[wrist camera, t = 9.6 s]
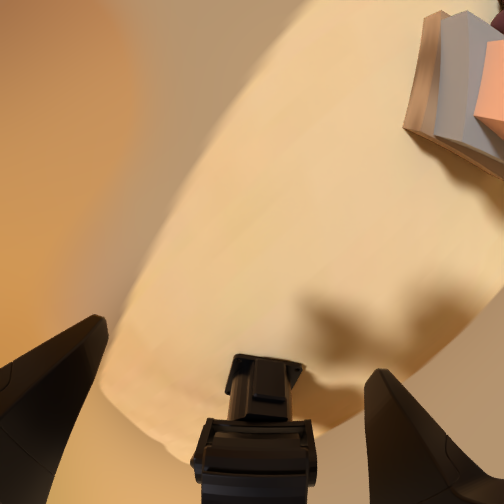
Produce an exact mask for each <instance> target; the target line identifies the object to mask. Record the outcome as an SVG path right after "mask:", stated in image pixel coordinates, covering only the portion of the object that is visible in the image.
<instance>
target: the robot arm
mask: <svg viewBox="0 0 504 504" xmlns="http://www.w3.org/2000/svg"><path fill="white" fill-rule="evenodd" d="M108 338H109V334H108V328H107V323H106V319H105V318H104V317H102V316H99V315H96V314H94V315H91V316H89V317H87V318H86V319H84V320H83V321H80V322H79V323H77V324H75V325H73V326H72V327H70V328H68V329H67V330H65V331H63V332H61V333H60V334H58V335H56V336H54V337H53V338H51V339H49V340H47V341H46V342H44V343H42V344H41V345H39V346H37V347H35V348H34V349H32V350H31V351H29V352H27V353H25V354H24V355H22V356H20V357H19V358H17V359H15V360H14V361H13V362H10V363H8V364H7V365H5V366H4V367H2V368H0V504H46V502H47V498H48V495H49V492H50V489H51V486H52V483H53V480H54V477H55V476H54V475H55V474H56V471H57V468H58V465H59V463H60V460H61V457H62V454H63V452H64V449H65V446H66V444H67V441H68V439H69V436H70V434H71V431H72V429H73V427H74V424H75V422H76V420H77V417H78V415H79V413H80V410H81V408H82V406H83V404H84V401H85V399H86V397H87V395H88V392H89V390H90V388H91V386H92V384H93V381H94V379H95V376H96V374H97V371H98V368H99V365H100V362H101V359H102V356H103V353H104V351H105V348H106V345H107V342H108ZM239 359H240V360H239ZM296 368H297V369H296ZM301 372H302V365H301V364H298V363H291V362H283V361H277V360H270V359H264V358H258V357H252V356H247V355H241V354H236V355H234V357H233V361H232V365H231V369H230V372H229V376H228V380H227V384H226V387H225V394H227V395H230V402H229V410H228V418H227V420H218V419H214V418H207V421H206V424H205V425H204V426H203V429H202V432H201V435H200V438H199V441H198V444H197V448H196V451H195V453H194V454H193V456H192V458H191V460H190V465H191V466H192V467H193V469H194V472H195V478H196V482H197V483H199V484H201V485H202V486H201V488H202V490H201V497H202V499H201V504H307V493H308V487H314V486H315V483H316V478H317V455H316V448H315V442H314V436H313V430H312V424H311V419H309V420H304V421H292V398H291V390H292V388H293V386H294V385H295V383H296V381H297V379H298V377H299V376H300V374H301ZM364 404H365V434H366V445H367V456H368V471H369V491H370V504H504V479H498V478H494V477H491V476H489V475H487V474H486V473H485V472H484V471H483V470H482V469H481V468H480V467H478V465H476V464H475V463H474V462H473V461H472V460H471V459H470V458H469V457H468V456H467V455H466V454H465V453H464V452H463V451H462V450H461V449H460V448H459V447H458V446H457V445H456V444H455V443H454V442H453V441H452V439H451V438H450V437H449V436H448V435H446V433H445V432H444V430H443V429H442V428H441V427H440V426H439V425H438V424H437V423H436V422H435V420H434V419H433V418H432V417H431V416H430V415H429V414H428V413H427V411H426V410H425V409H424V408H423V407H422V406H421V405H420V404H419V403H418V402H417V400H416V399H415V398H414V397H413V396H412V395H411V394H410V393H409V392H408V391H407V389H406V388H405V387H404V386H403V385H402V384H401V383H400V382H399V381H398V380H397V379H396V377H395V376H394V375H393V374H392V373H391V372H390V371H389V370H388V369H382V368H378V369H376V370H375V371H374V372H373V374H372V375H371V376H370V378H369V379H368V380H367V382H366V383H365V387H364Z"/></svg>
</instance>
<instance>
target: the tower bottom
mask: <svg viewBox="0 0 504 504" xmlns="http://www.w3.org/2000/svg"><path fill="white" fill-rule="evenodd" d="M448 17H450V15H448V14H447V13H445V12H444V11H442V10H441V11H439V12H436V13H434V14H432V15H430V16H428V17H426V18H424V22H423V30H422V37H421V44H420V50H419V56H418V61H417V67H416V72H415V77H414V82H413V86H412V91H411V95H410V100H409V104H408V108H407V112H406V116H405V120H404V124H403V128H404V129H407V130H409V131H411V132H413V133H415V134H418V135H420V136H422V137H424V138H426V139H428V140H430V141H432V142H434V143H436V144H438V145H440V146H442V147H444V148H446V149H448V150H449V151H451V152H453V153H455V154H457V155H458V156H460V157H462V158H464V159H465V160H467V161H469V162H471V163H472V164H474V165H476V166H477V167H479V168H481V169H482V170H484V171H485V172H487V173H488V174H491V175H493V176H495V177H497V178H499V179H502V180H504V164H502V163H500V162H498V161H496V160H494V159H492V158H489V157H487V156H485V155H483V154H481V153H478V152H476V151H474V150H472V149H469V148H467V147H464V146H462V145H459V144H457V143H454V142H452V141H449V140H447V139H444V138H441V137H438V136H436V135H433V134H434V127H435V120H436V112H437V104H438V94H439V82H440V65H441V20H442V19H445V18H448Z"/></svg>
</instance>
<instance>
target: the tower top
mask: <svg viewBox="0 0 504 504" xmlns="http://www.w3.org/2000/svg"><path fill="white" fill-rule="evenodd" d="M498 40H504V35H503V34H502V33H500V32H499V31H497V30H496V29H495V28H493V27H492V26H490V25H489V24H487V23H486V22H484V21H483V20H481V19H480V18H478V17H477V16H475V15H474V14H472V13H470V12H469V11H464V12H461V13H458V14H456V15H453V16H450V17H448V18H445V19H442V20H441V65H440V82H439V94H438V104H437V112H436V120H435V127H434V134H433V135H436V136H438V137H441V138H444V139H447V140H449V141H452V142H454V143H457V144H459V145H462V146H464V147H467V148H469V149H472V150H474V151H476V152H478V153H481V154H483V155H485V156H487V157H489V158H492V159H494V160H496V161H498V162H500V163H502V164H504V140H503V139H501V138H500V137H499V136H498V135H497V134H496V133H495V132H493V131H492V130H491V129H490V128H489V127H487V126H486V125H485V124H484V123H482V122H481V121H480V120H479V119H477V118H476V117H475V116H473V115H474V111H475V107H476V103H477V98H478V94H479V89H480V85H481V79H482V74H483V68H484V62H485V55H486V48H487V42H490V41H498Z"/></svg>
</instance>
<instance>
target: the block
mask: <svg viewBox="0 0 504 504" xmlns="http://www.w3.org/2000/svg"><path fill="white" fill-rule="evenodd" d="M473 116H475V117H476V118H477V119H479V120H480V121H481V122H482V123H484V124H485V125H486V126H487V127H489V128H490V129H491V130H492V131H493V132H495V133H496V134H497V135H498V136H499V137H500V138H501V139H503V140H504V40H498V41H490V42H487V48H486V55H485V62H484V68H483V74H482V79H481V85H480V89H479V94H478V98H477V103H476V107H475V111H474V115H473Z"/></svg>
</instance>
